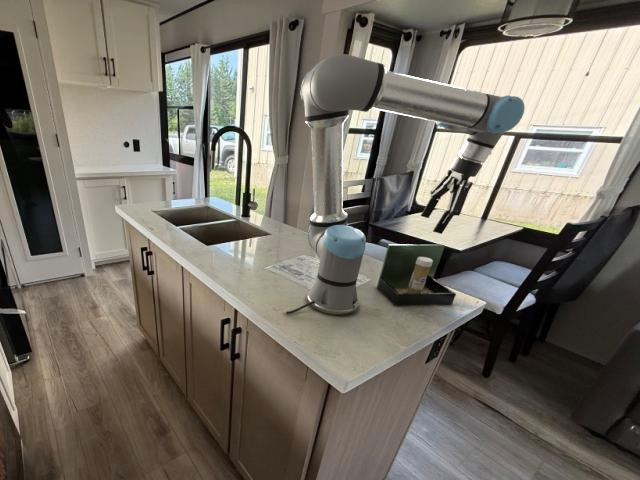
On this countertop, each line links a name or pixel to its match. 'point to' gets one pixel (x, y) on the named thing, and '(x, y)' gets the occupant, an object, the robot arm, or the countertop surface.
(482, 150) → the robot arm
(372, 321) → the countertop surface
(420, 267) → the sprinkles bottle
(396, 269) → the box
